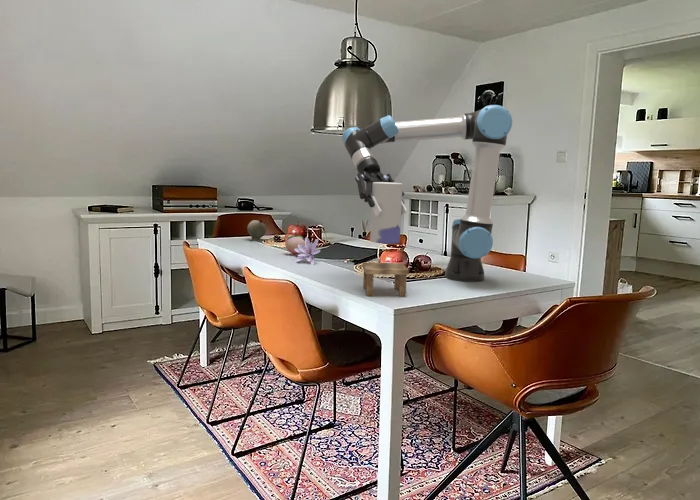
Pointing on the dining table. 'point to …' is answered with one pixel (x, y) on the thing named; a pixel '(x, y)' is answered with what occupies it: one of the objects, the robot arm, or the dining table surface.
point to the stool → (385, 268)
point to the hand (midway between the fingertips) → (391, 213)
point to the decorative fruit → (293, 243)
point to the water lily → (307, 251)
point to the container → (386, 213)
